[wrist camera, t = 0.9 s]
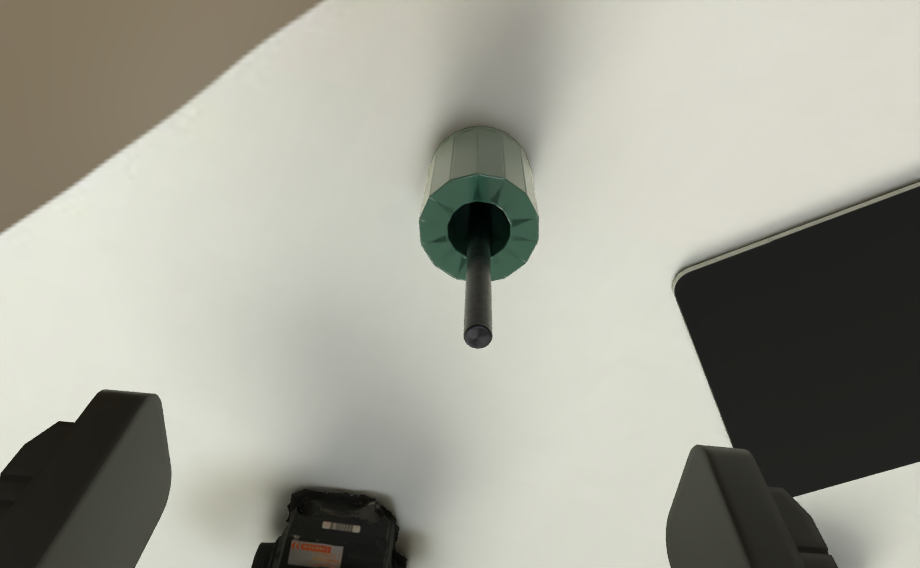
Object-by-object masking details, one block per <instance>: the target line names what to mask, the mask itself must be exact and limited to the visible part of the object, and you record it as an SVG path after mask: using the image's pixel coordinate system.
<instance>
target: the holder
mask: <svg viewBox="0 0 920 568" xmlns="http://www.w3.org/2000/svg"><path fill="white" fill-rule="evenodd" d="M476 201H480V202H485V203H489V207H490V253H491V281H494V280H499V279H503V278H506V277H508V276H509V275H510V274H512V273H513V272H514V271H516V270H517V269H519V268H520V267H521V266H523V265H524V264H525V263H526V262H527V261H528V259H529V257H530V255H531V254H532V252H533V250H534V248H535V246H536V244H537V243H538V239H539V216H538V210H537V204H536V198H535V192H534V186H533V180H532V174H531V168H530V165H529V163H528V160H527V157H526V155H525V153H524V151H523V149H522V148H521V146H520V145H519V144H518V143H517V142H516V141H515V140H514V139H513V138H512V137H510V136H509V135H507V134H506V133H504V132H502V131H500V130H497V129H494V128H490V127H470V128H466V129H462V130H460V131H458V132H455V133H454V134H452V135H451V136H449V137H448V138H447V139H445V140H444V141H443V142H442V143H441V144H440V146H439V147H438V148H437V150H436V151H435V154H434V156H433V158H432V161H431V165H430V167H429V169H428V175H427V180H426V186H425V191H424V196H423V202H422V207H421V212H420V218H419V228H420V241H421V245H422V247H423V248H424V250H425V252H426V253H427V255H428V257H429V258H430V260H431V261H432V263H433V264H434V265H435V266H436V267H438V268H439V269H441V270H442V271H444V272H445V273H447V274H448V275H450V276H452V277H453V278H456V279H458V280H464V281H466V267H467V242H468V218H469V203H472V202H476Z"/></svg>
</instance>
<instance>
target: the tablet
mask: <svg viewBox="0 0 920 568" xmlns="http://www.w3.org/2000/svg"><path fill="white" fill-rule="evenodd" d="M673 292H674V295H675V298H676V300H677V303H678V305H679V308H680V311H681V313H682V316H683V318H684V321H685V324H686V326H687V329H688V332H689V334H690V337H691V339H692V342H693V345H694V347H695V350H696V352H697V355H698V358H699V360H700V363H701V365H702V368H703V371H704V373H705V376H706V378H707V381H708V384H709V386H710V389H711V391H712V394H713V397H714V399H715V402H716V404H717V407H718V410H719V412H720V415H721V417H722V420H723V423H724V425H725V428H726V431H727V433H728V436H729V438H730V441H731V444H732V446H733V448H737V449H746V450H748V451H749V452H750V453H751V454H752V455H753V457H754V459H755V461H756V463H757V465H758V467H759V469H760V472H761V474H762V476H763V478H764V480H765V482H766V484H767V486H768V487H778V488H784V489H785V490H786V491H787V492H788V493H789V494H790V495H791V496H792V497H795V496H799V495H802V494H806V493H810V492H813V491H817V490H820V489H824V488H827V487H831V486H835V485H838V484H842V483H845V482H849V481H852V480H856V479H859V478H863V477H867V476H870V475H874V474H877V473H881V472H884V471H888V470H892V469H895V468H899V467H902V466H906V465H909V464H913V463H916V462H920V182H918V183H915V184H912V185H910V186H907V187H904V188H901V189H899V190H896V191H893V192H891V193H888V194H885V195H883V196H880V197H877V198H875V199H872V200H869V201H867V202H864V203H861V204H858V205H856V206H853V207H850V208H848V209H845V210H842V211H840V212H837V213H834V214H832V215H829V216H826V217H824V218H821V219H818V220H815V221H813V222H810V223H807V224H805V225H802V226H799V227H797V228H794V229H791V230H789V231H786V232H783V233H781V234H778V235H775V236H772V237H770V238H767V239H764V240H762V241H759V242H756V243H754V244H751V245H748V246H746V247H743V248H740V249H738V250H735V251H732V252H730V253H727V254H724V255H721V256H719V257H716V258H713V259H711V260H708V261H705V262H703V263H700V264H697V265H695V266H692V267H689V268H687V269H685V270H683V271H682V272H680V273H679V274H678V275H677V276H676V278H675V280H674V282H673Z"/></svg>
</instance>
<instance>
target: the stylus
mask: <svg viewBox="0 0 920 568" xmlns="http://www.w3.org/2000/svg"><path fill="white" fill-rule="evenodd" d="M464 340H465V342H466V343H467V344H468V345H469V346H470V347H472V348H477V349H479V348H484V347H486V346H487V345H488V344H489V343H490V342H491V340H492V299H491V253H490V207H489V203H485V202H480V201H476V202H472V203H469V218H468V242H467V267H466V291H465V315H464Z"/></svg>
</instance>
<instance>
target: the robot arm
mask: <svg viewBox="0 0 920 568" xmlns="http://www.w3.org/2000/svg"><path fill="white" fill-rule="evenodd" d="M170 486H171V464H170V457H169V450H168V443H167V436H166V430H165V423H164V416H163V409H162V403H161V400H160V398H159V396H158V395H156V394H151V393H140V392H129V391H118V390H107V389H106V390H102V391H100V392H99V393H97V394H96V396H95V397H94V398H93V399H92V401H91V402H90V403H89V405H88V406H87V407H86V409H85V410H84V411H83V412H82V414H81V415H80V416H79V418H78V419H77V420H76V422H75V423H74V422H63V421H58V422H57V423H56V424H54V425H53V426H51V427H50V428H48V429H47V430H45V431H44V432H42V433H41V434H39V435H38V436H36V437H35V438H33V439H32V440H30V441H29V442H27V443H26V444H24V446H23V447H22V448H21V449H20V450H19V452H18V453H17V454H16V455H15V457H14V458H13V459H12V460H11V461H10V463H9V464H8V465H7V466H6V468H5V469H4V470H3V471H2V472H1V474H0V568H135V566H136V564H137V562H138V560H139V558H140V556H141V554H142V552H143V550H144V549H145V547H146V545H147V543H148V541H149V539H150V537H151V535H152V533H153V531H154V529H155V527H156V525H157V523H158V521H159V519H160V517H161V515H162V513H163V511H164V508H165V506H166V503H167V500H168V496H169V491H170ZM666 547H667V554H668V559H669V562H670V566H671V568H838V567H837V565H836V563H835V561H834V559H833V557H832V555H828V548H827V546H826V544H825V542H824V540H823V538H822V536H821V534H820V532H819V530H818V528H817V527H816V525H815V523H814V521H813V519H812V517H811V516H810V515H809V514H808V513H807V512H806V511H805V510H804V509H803V508H802V507H801V506H800V505H799V504H798V503H797V502H796V501H795V500H794V499H793V497H792V496H791V495H790V494H789V493H788V492H787V491H786V490H785V489H784V488H778V487H768V486H767V484H766V482H765V480H764V478H763V476H762V474H761V472H760V469H759V467H758V465H757V463H756V461H755V459H754V457H753V455H752V454H751V453H750V452H749V451H748V450H746V449H737V448H726V447H715V446H704V445H696V446H694V447H693V448H692V449H691V451H690V453H689V456H688V459H687V462H686V465H685V468H684V470H683V473H682V476H681V479H680V482H679V485H678V488H677V491H676V494H675V497H674V500H673V503H672V506H671V509H670V512H669V515H668V519H667V526H666Z"/></svg>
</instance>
